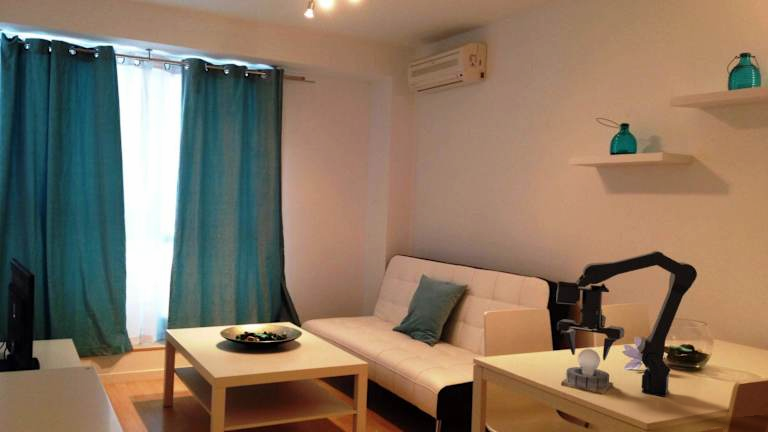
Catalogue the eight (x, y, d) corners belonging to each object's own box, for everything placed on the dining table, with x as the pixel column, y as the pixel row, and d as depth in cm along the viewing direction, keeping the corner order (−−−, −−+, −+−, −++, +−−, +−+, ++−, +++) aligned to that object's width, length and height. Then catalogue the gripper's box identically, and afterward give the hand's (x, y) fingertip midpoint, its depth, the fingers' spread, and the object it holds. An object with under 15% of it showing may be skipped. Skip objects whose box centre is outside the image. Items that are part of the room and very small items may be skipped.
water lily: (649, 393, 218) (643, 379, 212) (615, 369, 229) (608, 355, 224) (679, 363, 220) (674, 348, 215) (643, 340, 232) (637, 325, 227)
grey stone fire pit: (613, 385, 200) (614, 372, 200) (602, 394, 190) (603, 380, 190) (573, 377, 207) (573, 364, 207) (560, 385, 197) (560, 372, 197)
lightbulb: (596, 383, 202) (597, 347, 201) (600, 389, 195) (602, 352, 195) (574, 382, 202) (576, 346, 202) (578, 387, 196) (580, 350, 196)
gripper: (630, 306, 200) (627, 358, 200) (569, 299, 210) (566, 348, 210) (620, 311, 190) (617, 364, 191) (557, 302, 201) (554, 353, 201)
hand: (588, 357), depth 198 cm, fingers open, 9 cm apart
